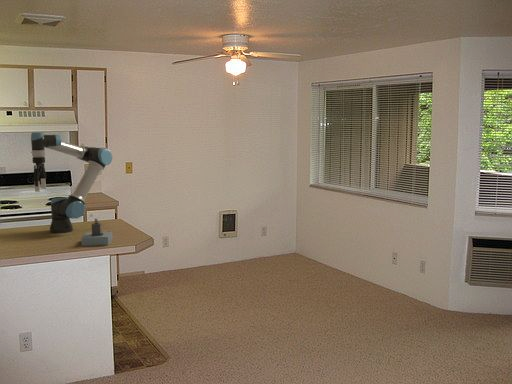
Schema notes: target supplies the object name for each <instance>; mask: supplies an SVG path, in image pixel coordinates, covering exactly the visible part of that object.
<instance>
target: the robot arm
mask: <svg viewBox="0 0 512 384" xmlns="http://www.w3.org/2000/svg"><path fill="white" fill-rule="evenodd" d="M30 143H31V152H30V153H31V154H32V159H31V160H32V164H34V165H33V177H32V178H33V180H32V182H34V192H35V193H37V192H41V189H45V190H46V189H47V184H46V179H47V178H48V177H47V173H46V167H45V163H46V157H45V155H46V154H45V153H46V152H45V151H46V150H45V148H46V149H49V150H53V151H56V152H58V153H59V152H60V153H63V154H66V155H69V156H73V157H76V159H78V160H81V161H84V162H86V163H88V166H87V168H86V170H85V171H84V173H83V175H82V177H81V178H80V181H79V182H78V184H77V186H76V187H75V189H74V191H73V193H72V194H69V195H68V196H63V197H56V198H51V200H50V214H51V223H50V226H49V233H51V234H52V233H54V234H58V233H59V234H64V233H71V232H72V231H74V228H73V224H72V221H71V219H76V220H77V219H79V218H81V217H83V215H84V213H85V210H86V208H85V205H86V201H85V199H86V198H87V196H88V194H89V192H90V190H91V189H92V187H93V186H94V183H95V181H96V179H97V178H98V177H99V175H100V172H101V171H103V170H104V169H105V168H106V166H107V165H110V164H111V163H112V162H113V155H112V154H113V153H112V151H111V150H110V149H109V148H105V147H95V146H94V147H93V146H84V145H80V146H79V145H76V144H73V143H70V142H67V141H64V140H62V137H61V135H60V134H44V132H41V131H40V132H39V131H37V132H36V131H34V132H32V133H31V134H30Z"/></svg>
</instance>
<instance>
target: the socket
mask: <svg viewBox="0 0 512 384" xmlns="http://www.w3.org/2000/svg"><path fill="white" fill-rule="evenodd" d="M113 236H114V235H113V231H102V236H92V231H89V232H88V231H87V232H85V233H84V234H83V235H82V236H81V239H80V240H81V246H82V247H87V246H109V245H110V243H111V242H112V241H113V239H114V238H113Z"/></svg>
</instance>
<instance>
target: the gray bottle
mask: <svg viewBox="0 0 512 384" xmlns="http://www.w3.org/2000/svg"><path fill="white" fill-rule="evenodd" d="M102 228H103V227H102V222H99V218H94V222H93V223H91V232H92V236H102V232H103V229H102Z"/></svg>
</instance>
